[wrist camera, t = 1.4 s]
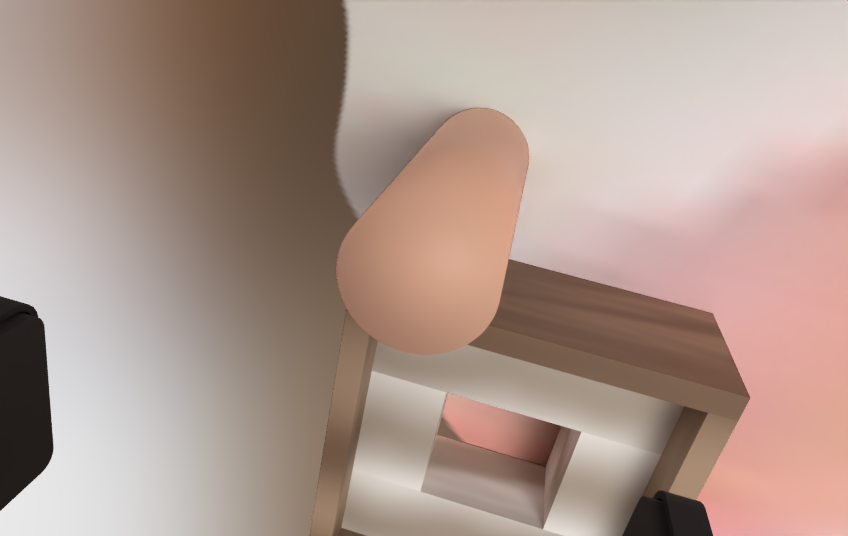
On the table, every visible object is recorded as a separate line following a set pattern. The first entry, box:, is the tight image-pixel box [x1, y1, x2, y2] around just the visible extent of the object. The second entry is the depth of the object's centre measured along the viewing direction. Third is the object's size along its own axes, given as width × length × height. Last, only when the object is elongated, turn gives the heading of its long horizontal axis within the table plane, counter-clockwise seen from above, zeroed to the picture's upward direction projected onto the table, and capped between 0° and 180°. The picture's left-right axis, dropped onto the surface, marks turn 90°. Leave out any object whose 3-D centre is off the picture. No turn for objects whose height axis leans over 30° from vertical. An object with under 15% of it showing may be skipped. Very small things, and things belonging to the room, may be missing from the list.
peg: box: [336, 108, 529, 355], centre depth 20 cm, size 4×4×12 cm
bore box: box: [310, 259, 750, 536], centre depth 28 cm, size 15×14×6 cm
